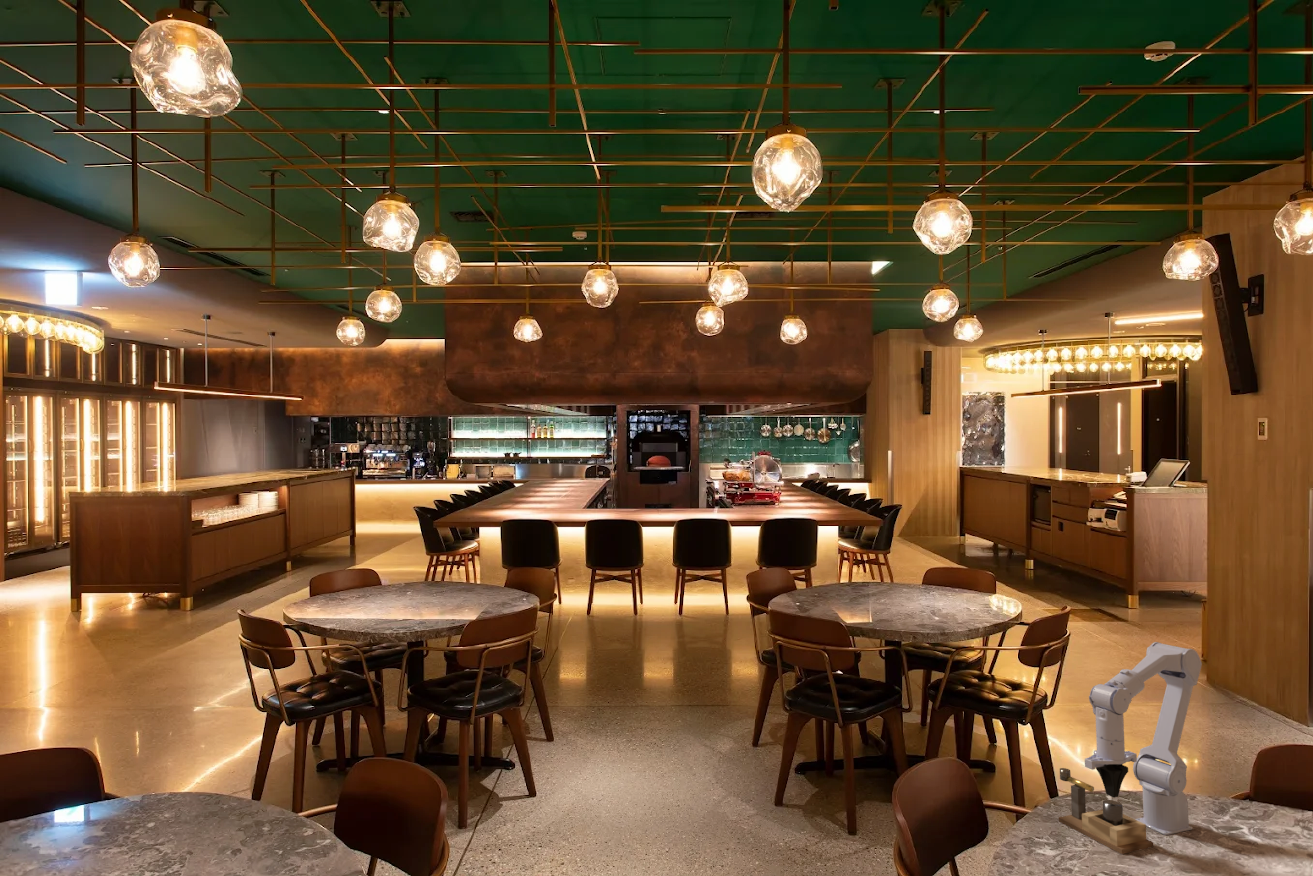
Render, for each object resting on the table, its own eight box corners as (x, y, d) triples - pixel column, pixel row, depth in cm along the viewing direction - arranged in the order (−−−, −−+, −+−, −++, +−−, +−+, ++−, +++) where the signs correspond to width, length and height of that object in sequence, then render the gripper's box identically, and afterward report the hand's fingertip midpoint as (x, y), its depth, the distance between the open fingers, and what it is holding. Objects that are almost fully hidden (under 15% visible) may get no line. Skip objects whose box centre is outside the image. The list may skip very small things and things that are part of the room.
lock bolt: (1064, 777, 189) (1064, 767, 189) (1095, 791, 181) (1095, 781, 181) (1057, 778, 188) (1057, 768, 189) (1088, 792, 180) (1088, 782, 180)
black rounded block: (1127, 836, 174) (1126, 805, 174) (1115, 839, 172) (1114, 808, 173) (1110, 828, 178) (1110, 798, 178) (1099, 831, 176) (1098, 801, 176)
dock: (1088, 815, 187) (1087, 781, 187) (1153, 847, 171) (1152, 809, 171) (1058, 821, 183) (1057, 787, 184) (1121, 854, 167) (1120, 816, 168)
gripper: (1116, 728, 182) (1118, 784, 182) (1072, 735, 177) (1074, 793, 177) (1144, 738, 176) (1146, 796, 175) (1099, 745, 171) (1101, 805, 170)
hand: (1112, 795), depth 175 cm, fingers closed
